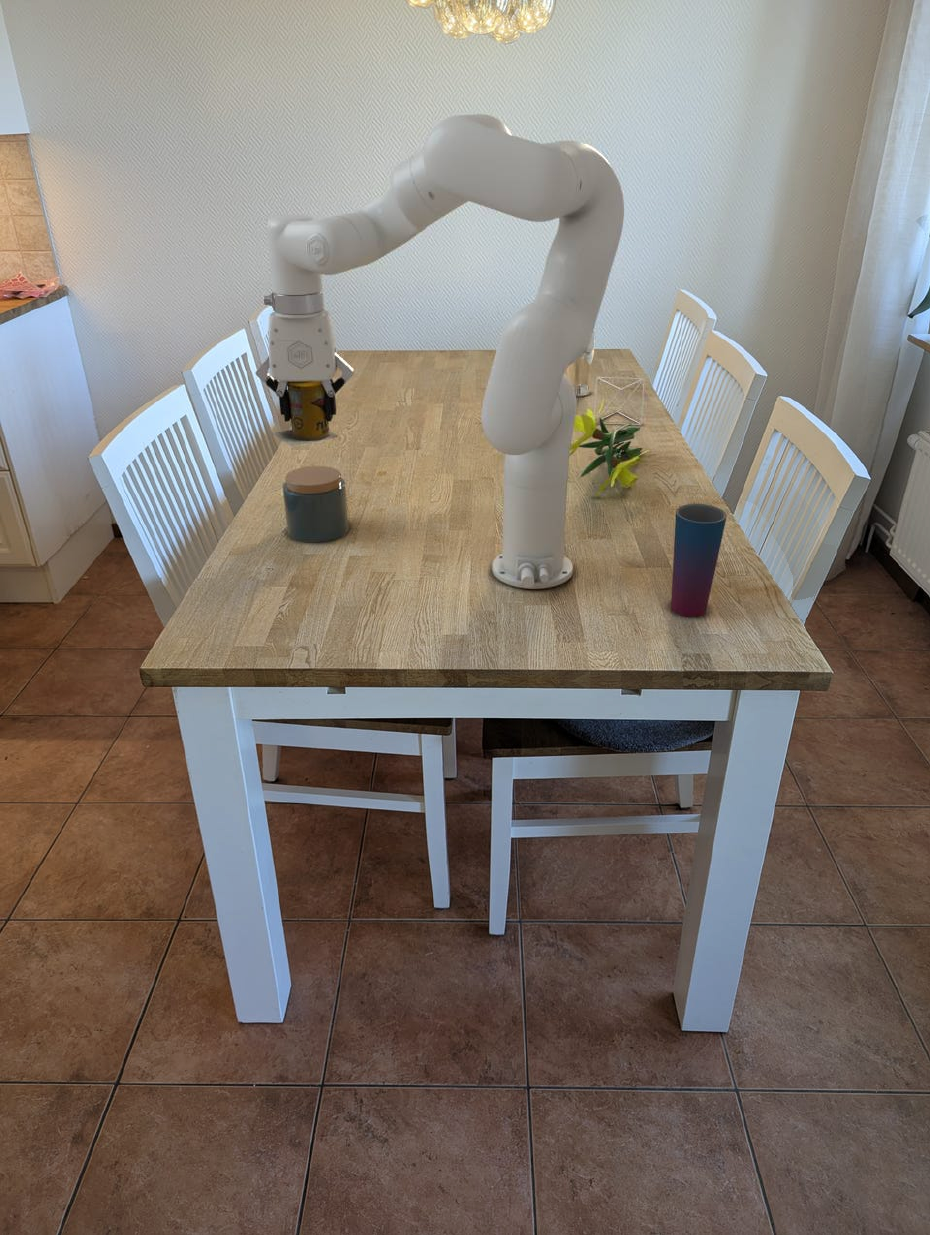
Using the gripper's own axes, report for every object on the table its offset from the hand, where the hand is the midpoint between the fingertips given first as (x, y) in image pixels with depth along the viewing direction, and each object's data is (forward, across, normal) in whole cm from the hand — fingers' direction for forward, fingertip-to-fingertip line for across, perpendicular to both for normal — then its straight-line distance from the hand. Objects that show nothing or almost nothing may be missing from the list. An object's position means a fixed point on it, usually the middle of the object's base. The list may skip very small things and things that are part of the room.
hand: (309, 418), depth 148 cm
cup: (+20, +58, -28) cm, 67 cm away
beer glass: (+20, +53, +83) cm, 100 cm away
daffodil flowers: (+20, +53, +25) cm, 62 cm away
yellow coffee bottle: (+3, -1, 0) cm, 3 cm away
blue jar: (+20, 0, 0) cm, 20 cm away
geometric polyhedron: (+20, +60, +61) cm, 88 cm away
